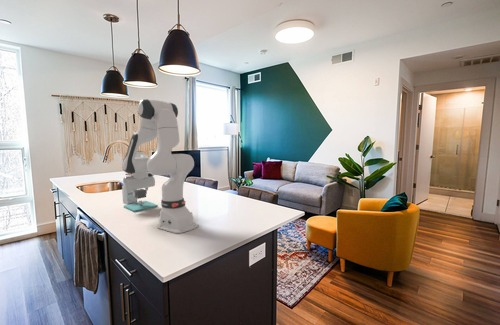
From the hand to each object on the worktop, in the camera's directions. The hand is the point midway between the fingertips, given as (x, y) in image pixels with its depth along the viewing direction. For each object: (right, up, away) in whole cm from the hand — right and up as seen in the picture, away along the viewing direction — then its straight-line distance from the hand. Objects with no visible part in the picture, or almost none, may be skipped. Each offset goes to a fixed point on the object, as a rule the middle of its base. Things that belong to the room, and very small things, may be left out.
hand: (140, 194), depth 160 cm
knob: (0, -2, 0) cm, 2 cm away
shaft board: (0, -9, +1) cm, 9 cm away
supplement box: (-13, -8, +12) cm, 19 cm away
